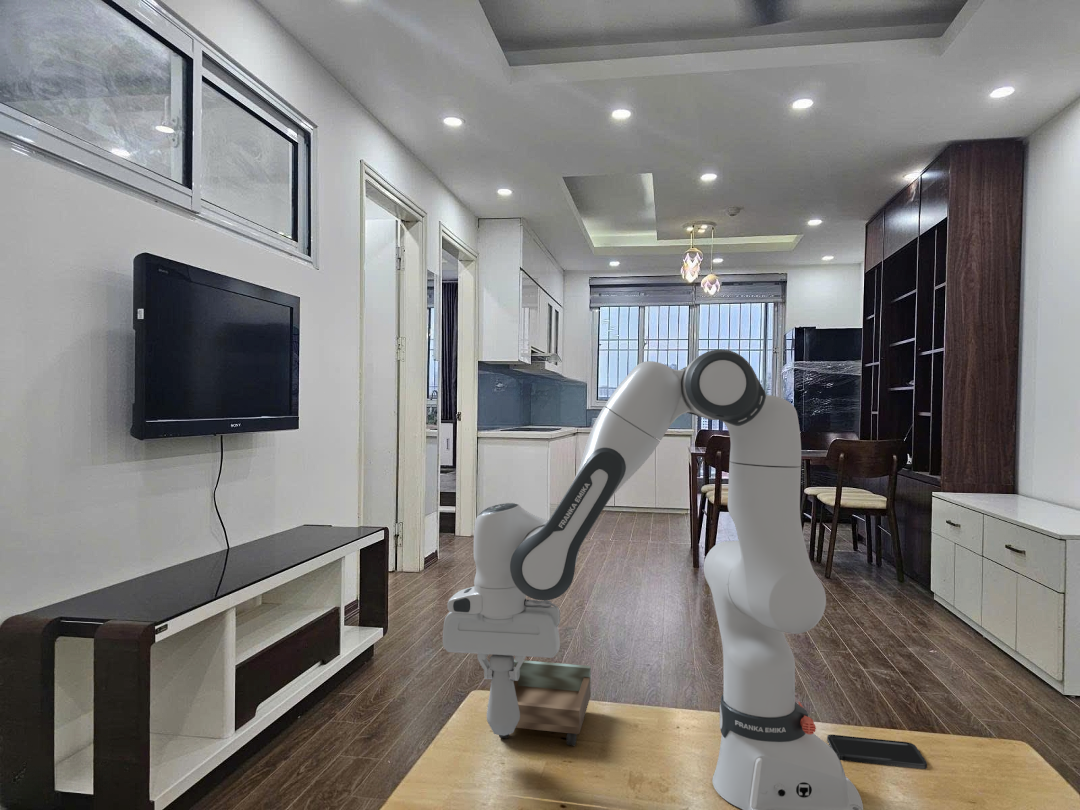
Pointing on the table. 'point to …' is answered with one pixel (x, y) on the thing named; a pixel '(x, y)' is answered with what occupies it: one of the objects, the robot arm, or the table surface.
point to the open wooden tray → (553, 697)
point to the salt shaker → (502, 697)
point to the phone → (877, 751)
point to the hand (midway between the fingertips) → (502, 678)
